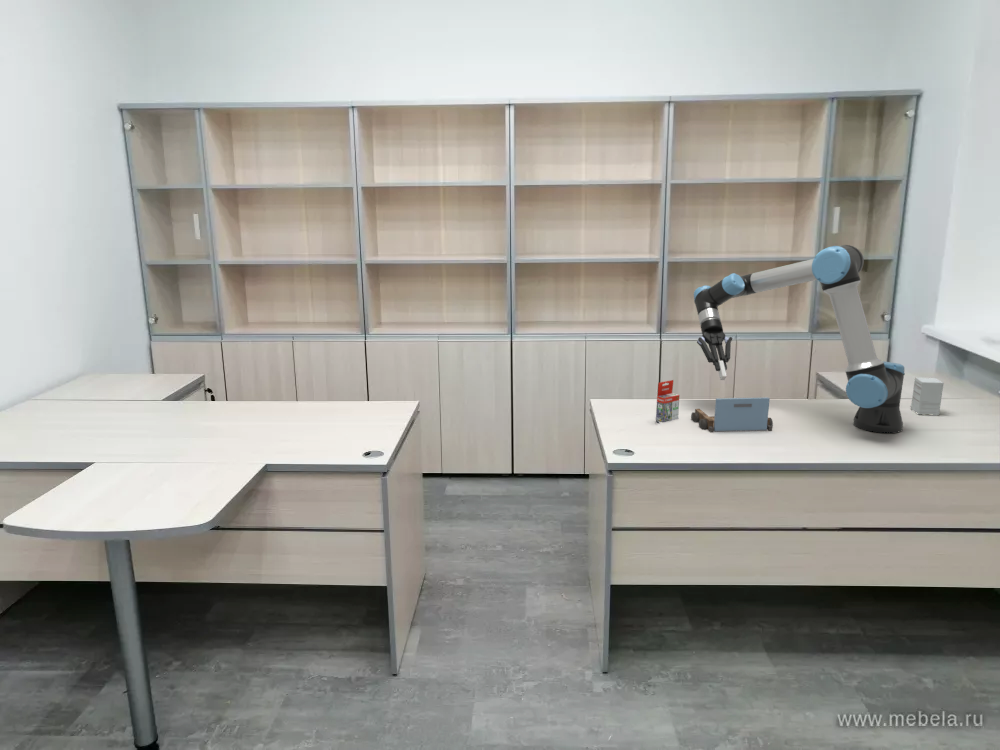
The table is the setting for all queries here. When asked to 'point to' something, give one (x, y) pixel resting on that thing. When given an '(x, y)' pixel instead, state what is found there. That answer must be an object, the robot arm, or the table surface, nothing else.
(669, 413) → the ink box
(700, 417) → the trailer bed
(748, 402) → the panel
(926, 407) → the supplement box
